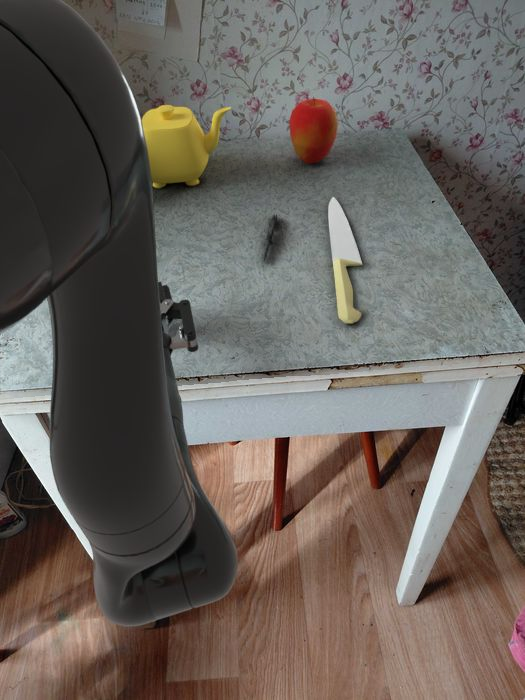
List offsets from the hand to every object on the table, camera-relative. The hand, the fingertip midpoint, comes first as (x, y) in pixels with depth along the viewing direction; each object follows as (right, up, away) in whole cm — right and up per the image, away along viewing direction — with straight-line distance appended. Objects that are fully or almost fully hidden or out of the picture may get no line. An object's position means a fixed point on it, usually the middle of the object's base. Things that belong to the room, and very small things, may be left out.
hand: (123, 295), depth 62 cm
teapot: (+1, +27, +40) cm, 49 cm away
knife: (+29, +8, +21) cm, 37 cm away
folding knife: (+17, +11, +24) cm, 31 cm away
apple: (+26, +31, +42) cm, 59 cm away
